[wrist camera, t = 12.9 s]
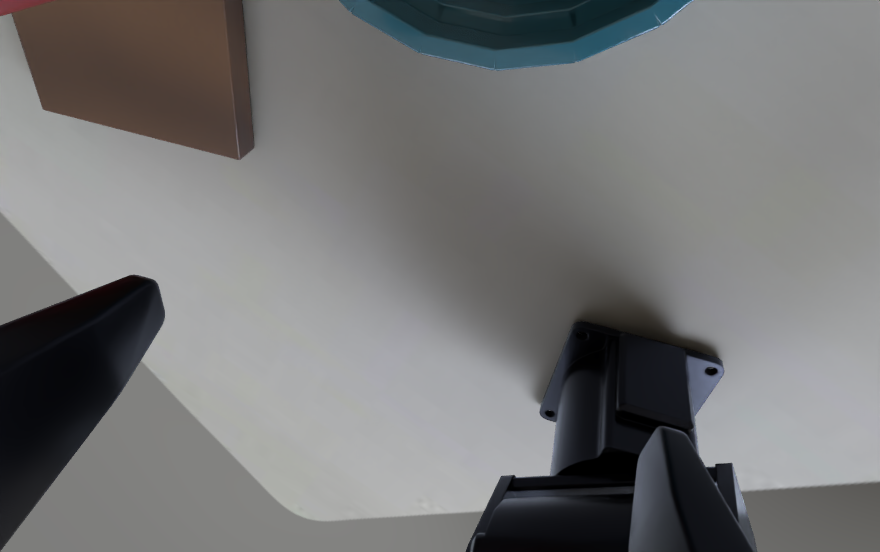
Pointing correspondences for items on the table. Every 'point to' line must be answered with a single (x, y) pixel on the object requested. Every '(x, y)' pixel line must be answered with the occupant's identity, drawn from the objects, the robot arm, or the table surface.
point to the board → (145, 68)
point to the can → (18, 5)
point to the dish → (514, 27)
